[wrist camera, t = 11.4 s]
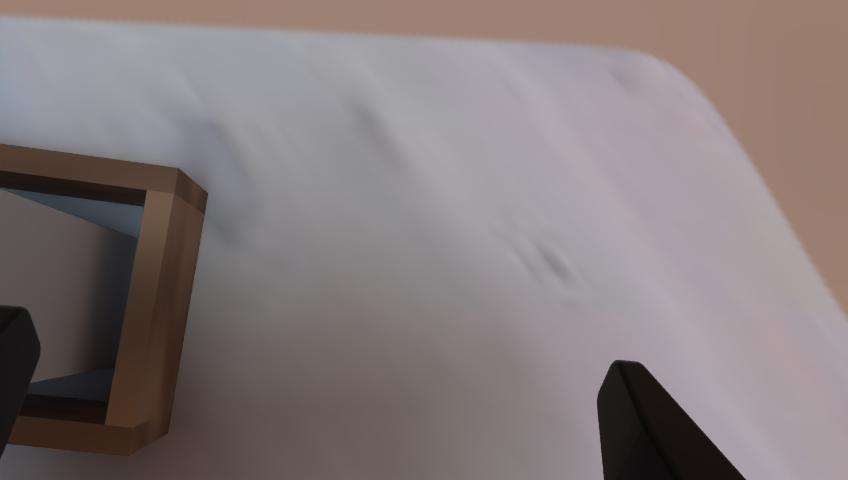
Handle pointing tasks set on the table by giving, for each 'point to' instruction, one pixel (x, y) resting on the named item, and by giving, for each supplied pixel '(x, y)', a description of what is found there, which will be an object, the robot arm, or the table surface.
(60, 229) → the light grey rectangular block
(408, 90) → the table surface
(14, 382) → the robot arm
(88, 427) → the walnut collar
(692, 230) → the table surface
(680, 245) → the table surface
